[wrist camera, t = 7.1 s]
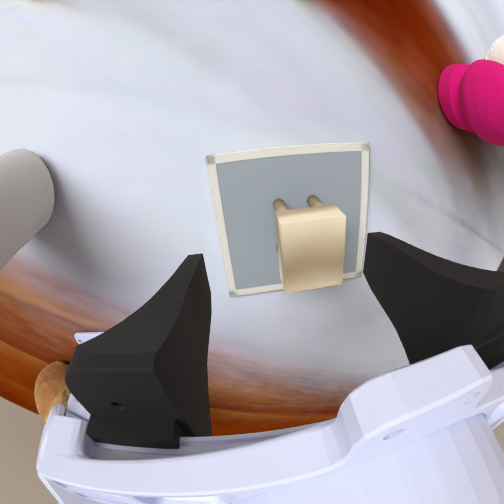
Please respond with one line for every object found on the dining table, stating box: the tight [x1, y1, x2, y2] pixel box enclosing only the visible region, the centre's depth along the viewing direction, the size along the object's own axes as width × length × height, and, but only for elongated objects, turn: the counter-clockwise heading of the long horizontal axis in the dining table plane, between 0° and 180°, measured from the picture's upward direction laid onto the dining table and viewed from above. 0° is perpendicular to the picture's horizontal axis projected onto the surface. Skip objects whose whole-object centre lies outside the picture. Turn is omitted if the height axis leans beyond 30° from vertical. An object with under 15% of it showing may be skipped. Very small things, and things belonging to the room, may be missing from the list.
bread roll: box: [35, 361, 71, 424], centre depth 28 cm, size 10×15×8 cm, turn 161°
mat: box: [206, 142, 369, 297], centre depth 22 cm, size 12×12×1 cm
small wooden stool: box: [272, 195, 346, 294], centre depth 20 cm, size 5×4×5 cm
